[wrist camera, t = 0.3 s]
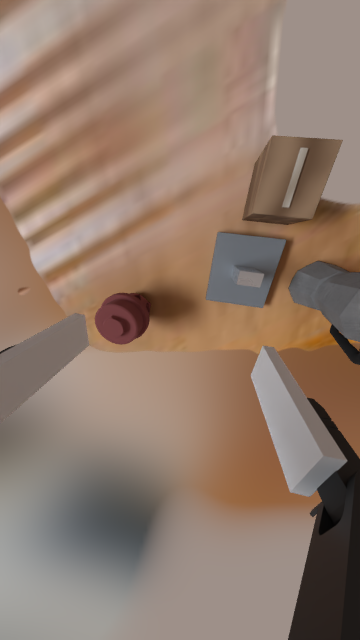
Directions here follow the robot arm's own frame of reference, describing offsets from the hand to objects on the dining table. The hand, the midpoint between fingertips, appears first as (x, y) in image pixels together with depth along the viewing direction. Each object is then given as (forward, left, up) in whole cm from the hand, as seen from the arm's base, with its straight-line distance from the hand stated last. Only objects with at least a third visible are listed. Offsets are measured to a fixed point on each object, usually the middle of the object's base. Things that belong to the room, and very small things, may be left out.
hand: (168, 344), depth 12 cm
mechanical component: (+8, -12, -27) cm, 31 cm away
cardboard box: (-16, +12, -27) cm, 33 cm away
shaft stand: (-3, +10, -27) cm, 28 cm away
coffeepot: (-1, +25, -27) cm, 36 cm away
